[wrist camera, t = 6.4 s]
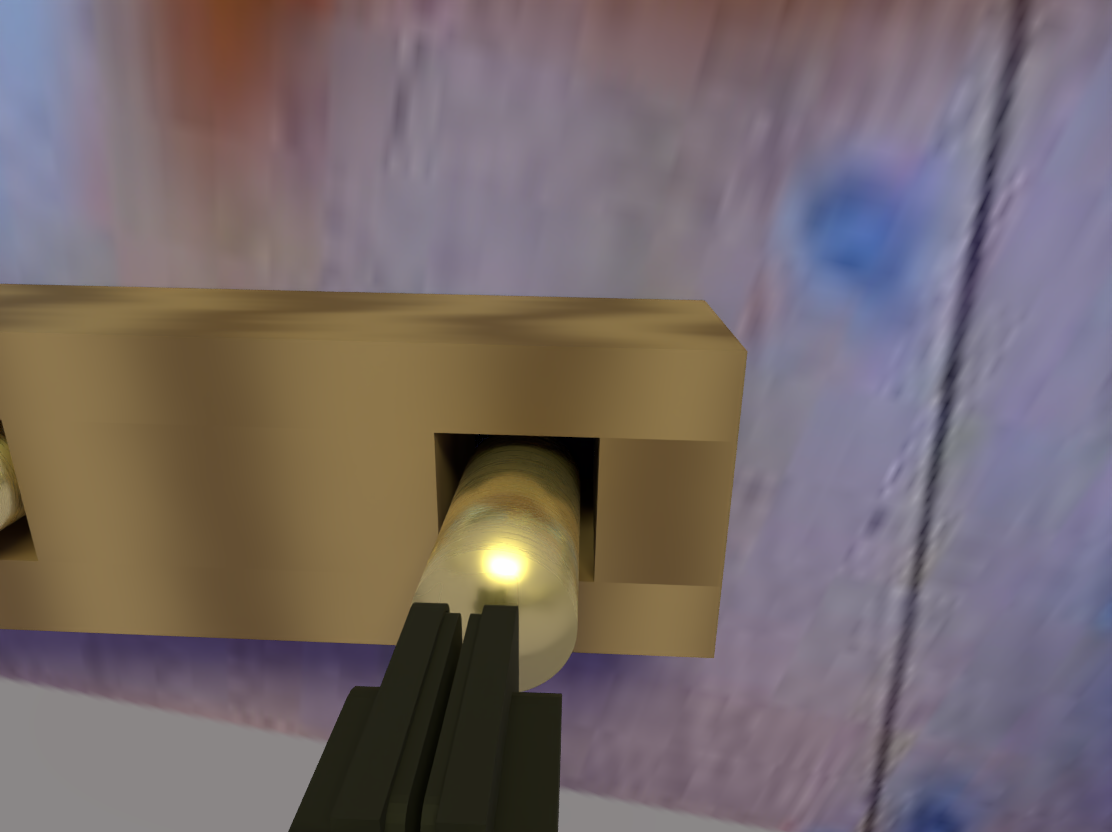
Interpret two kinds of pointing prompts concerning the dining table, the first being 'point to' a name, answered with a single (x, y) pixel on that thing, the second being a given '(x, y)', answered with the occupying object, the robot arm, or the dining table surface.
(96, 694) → the dining table surface
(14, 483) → the outer brass pin
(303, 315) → the tan peg holder block
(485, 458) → the inner brass pin
